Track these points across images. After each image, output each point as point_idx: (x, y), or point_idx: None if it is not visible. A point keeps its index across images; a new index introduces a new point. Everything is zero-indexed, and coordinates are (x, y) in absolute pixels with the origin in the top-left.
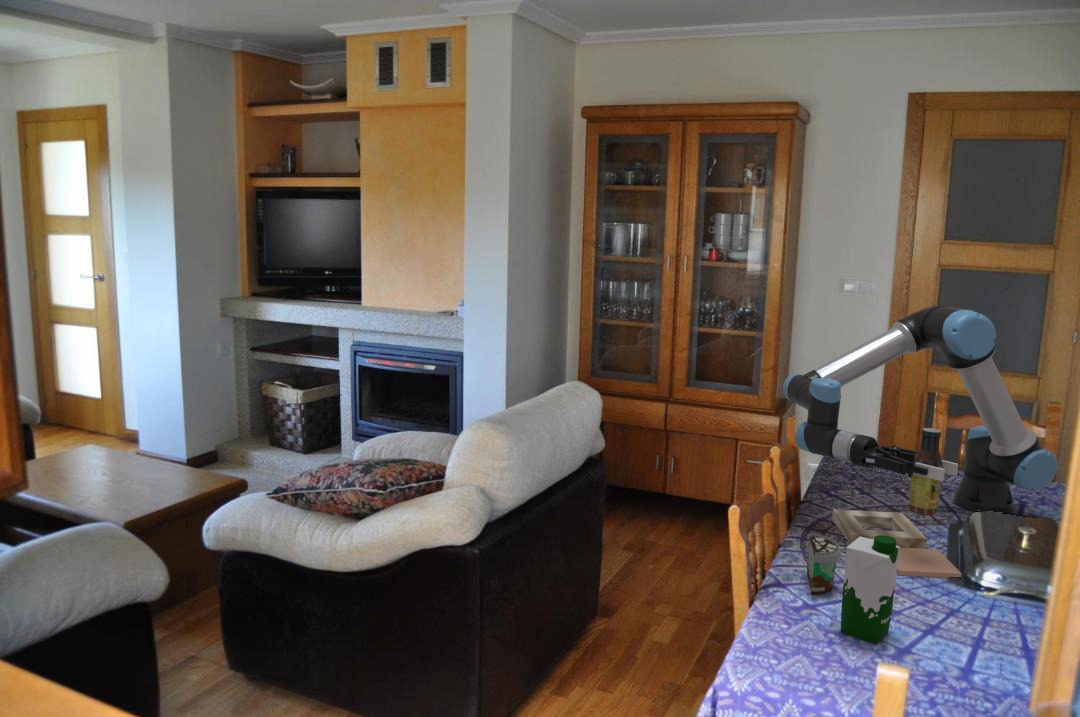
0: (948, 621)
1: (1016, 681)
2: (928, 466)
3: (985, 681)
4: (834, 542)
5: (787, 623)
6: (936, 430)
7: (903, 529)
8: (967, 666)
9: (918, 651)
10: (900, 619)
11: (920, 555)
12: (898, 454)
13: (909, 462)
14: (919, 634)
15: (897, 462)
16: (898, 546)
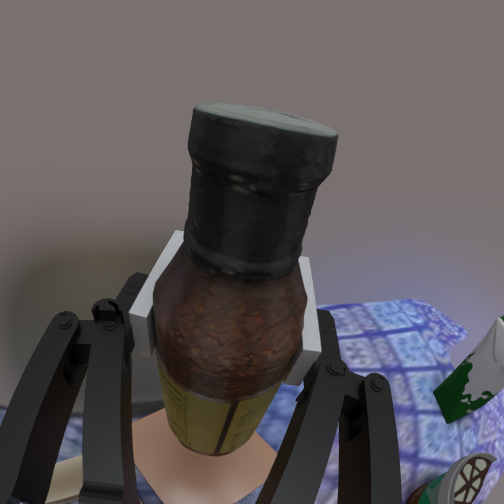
0: (363, 365)
1: (396, 303)
2: (314, 299)
3: (416, 316)
4: (454, 485)
5: (493, 446)
6: (253, 108)
7: (77, 492)
8: (413, 329)
9: (432, 360)
10: (405, 398)
11: (174, 455)
12: (128, 502)
13: (333, 377)
14: (411, 372)
15: (394, 415)
16: (498, 318)
